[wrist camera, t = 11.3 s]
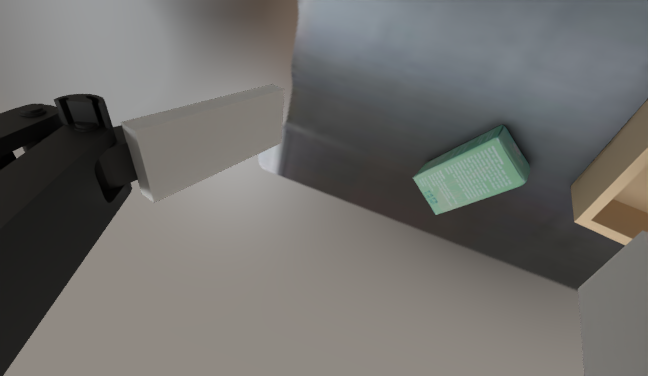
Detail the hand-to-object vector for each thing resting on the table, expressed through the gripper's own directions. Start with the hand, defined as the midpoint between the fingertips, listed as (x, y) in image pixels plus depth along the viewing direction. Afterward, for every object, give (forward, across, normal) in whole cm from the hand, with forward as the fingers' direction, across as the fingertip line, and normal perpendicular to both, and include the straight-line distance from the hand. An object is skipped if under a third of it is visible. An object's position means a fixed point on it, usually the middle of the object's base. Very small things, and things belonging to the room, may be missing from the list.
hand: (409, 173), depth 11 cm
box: (+38, +2, -15) cm, 41 cm away
